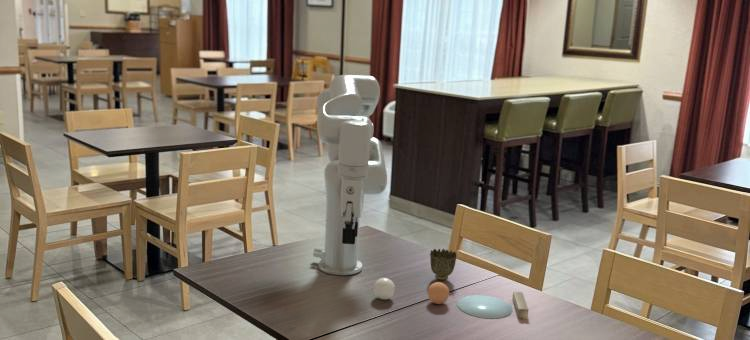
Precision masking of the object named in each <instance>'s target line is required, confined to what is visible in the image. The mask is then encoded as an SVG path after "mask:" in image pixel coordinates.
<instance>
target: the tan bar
mask: <svg viewBox="0 0 750 340" xmlns="http://www.w3.org/2000/svg"><path fill="white" fill-rule="evenodd" d="M512 303H513V308H514V310H515V313H516V316H517V317H518V318H517V319H521V318H525V319H524V320H528V318H529V316H528V315H529V307H528V304H527V302H526V299H525V296H524V293H523V291H521V292H520V291H513V292H512Z"/></svg>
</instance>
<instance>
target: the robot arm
mask: <svg viewBox="0 0 750 340" xmlns="http://www.w3.org/2000/svg"><path fill="white" fill-rule="evenodd" d="M380 98H381V87H380V84H379V81H378V80H377V79H376V78H375V76H372V75H362V74H361V75H360V74H359V75H358V74H357V75H355V74H341V75H336V77H334V78H333V79H332V80H331V82H330V84H329V88H325V89H323V90H321V91H320V93H319V95H318V96H317V100H316V104H317V107H316V109H317V118H316V119H317V120H316V121H317V122H316V123H317V125H316V126H317V135H318V138H319V140H320V142H322V143H323V144H326V146H327V147H326V149H327V155H328V156H327V157H328V161H329V163H328V164H326V166H325V168H324V177H323V178H324V186H325V187H324V188H325V198H326V199H325V201H326V202H325V203H326V204H325V232H324V233H325V234H324V248H320V247H315V248H313V249H314V250H313V254H312V255H313V257H315V258H319V259H320V260H319V262H318V269H319V270H320V271H322V272H323V273H326V274H328V275H335V276H350V275H355V274H358V273H360V272H361V271H362V270H363V263H362V262H361V261H360V260H358V255H359V252H358V251H359V234H360V218H361V217H362V215H363V213H364V200H365V199H364V197H365V196H364V195H380V194H382V193H383V192H385V190H386V189H387V185H388V174H387V166H386V161H385V154H384V149H383V145H382V143H381V140H380V139H378V138H376V137H374V132H375V131H374V130H375V129H374V128H375V127H374V123H373V122H372V120H371V119H370V118H369V117H370V116H372V115H373V113H374V112H375V110H376V107H377V106H378V104H379V101H380Z"/></svg>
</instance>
